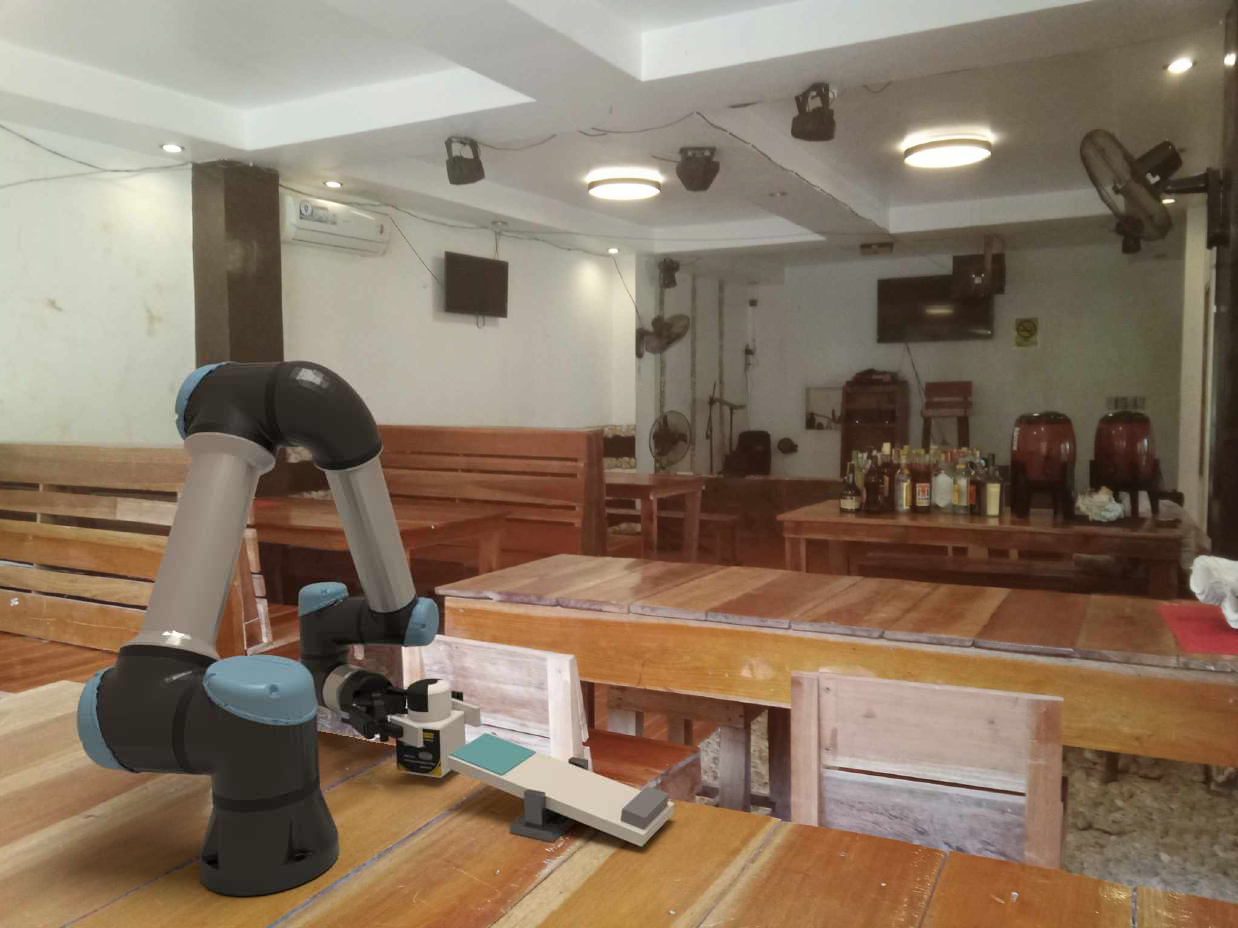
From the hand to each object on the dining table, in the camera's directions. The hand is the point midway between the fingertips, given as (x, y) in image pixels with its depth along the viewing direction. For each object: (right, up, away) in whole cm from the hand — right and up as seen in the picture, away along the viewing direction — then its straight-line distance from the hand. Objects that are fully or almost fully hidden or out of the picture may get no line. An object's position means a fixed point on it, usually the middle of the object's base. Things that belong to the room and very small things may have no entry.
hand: (450, 726), depth 130 cm
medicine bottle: (-3, -7, +4) cm, 8 cm away
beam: (+15, -5, -10) cm, 19 cm away
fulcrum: (+15, -9, -10) cm, 20 cm away
